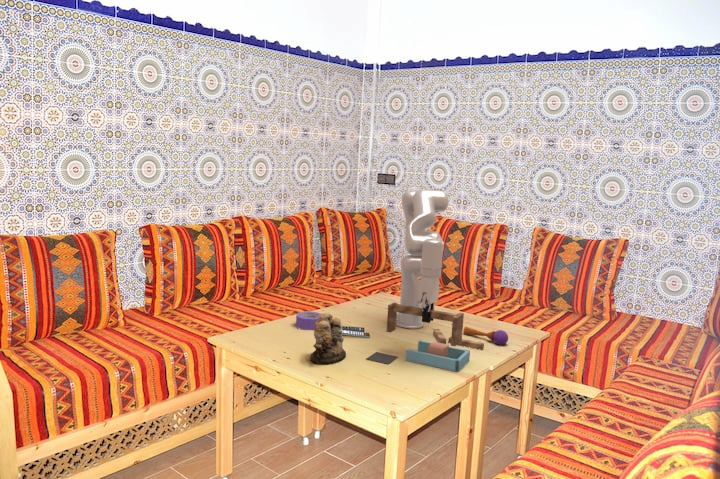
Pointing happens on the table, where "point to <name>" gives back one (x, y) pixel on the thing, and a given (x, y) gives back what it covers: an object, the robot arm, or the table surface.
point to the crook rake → (454, 318)
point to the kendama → (489, 335)
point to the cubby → (439, 357)
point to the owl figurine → (328, 340)
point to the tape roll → (307, 320)
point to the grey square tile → (382, 358)
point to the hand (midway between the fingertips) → (427, 320)
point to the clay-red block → (438, 349)
